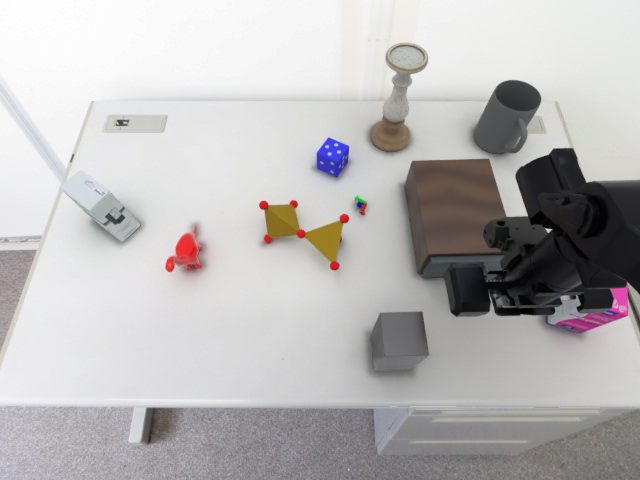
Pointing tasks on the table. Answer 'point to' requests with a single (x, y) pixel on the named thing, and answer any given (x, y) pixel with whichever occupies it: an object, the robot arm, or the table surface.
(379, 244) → the table surface
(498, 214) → the cabinet
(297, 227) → the molecule model
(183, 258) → the dinosaur
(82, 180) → the ink box
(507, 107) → the mug
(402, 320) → the pedestal
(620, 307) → the supplement box
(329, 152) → the die
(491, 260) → the drawer
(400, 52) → the candle holder
